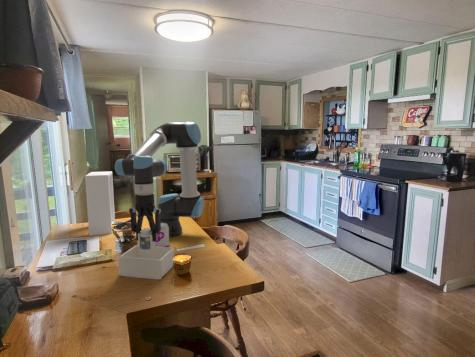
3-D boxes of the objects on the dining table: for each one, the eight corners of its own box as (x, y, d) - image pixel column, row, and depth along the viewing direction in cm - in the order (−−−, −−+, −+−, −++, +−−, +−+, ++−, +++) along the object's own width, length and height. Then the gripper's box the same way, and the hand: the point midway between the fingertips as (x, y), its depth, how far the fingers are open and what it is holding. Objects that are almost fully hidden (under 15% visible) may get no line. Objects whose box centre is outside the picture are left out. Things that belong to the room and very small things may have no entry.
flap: (109, 255, 115) (109, 256, 115) (149, 258, 112) (149, 259, 112) (119, 256, 122) (119, 257, 122) (157, 259, 119) (157, 260, 119)
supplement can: (165, 259, 140) (164, 227, 139) (149, 257, 142) (147, 226, 140) (172, 252, 148) (171, 223, 146) (156, 251, 150) (155, 222, 148)
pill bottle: (139, 248, 127) (138, 229, 126) (150, 246, 130) (149, 227, 129) (143, 251, 124) (142, 231, 123) (154, 249, 126) (153, 229, 125)
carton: (136, 261, 137) (135, 245, 136) (175, 265, 134) (174, 247, 133) (118, 275, 123) (117, 257, 122) (161, 279, 120) (160, 260, 119)
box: (95, 225, 196) (91, 171, 191) (115, 223, 200) (112, 171, 195) (89, 235, 176) (84, 175, 171) (111, 233, 179) (108, 175, 174)
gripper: (119, 194, 122) (122, 250, 125) (160, 195, 119) (162, 252, 122) (129, 191, 129) (132, 243, 132) (168, 192, 126) (170, 246, 129)
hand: (146, 248), depth 127 cm, fingers closed on pill bottle, 5 cm apart
